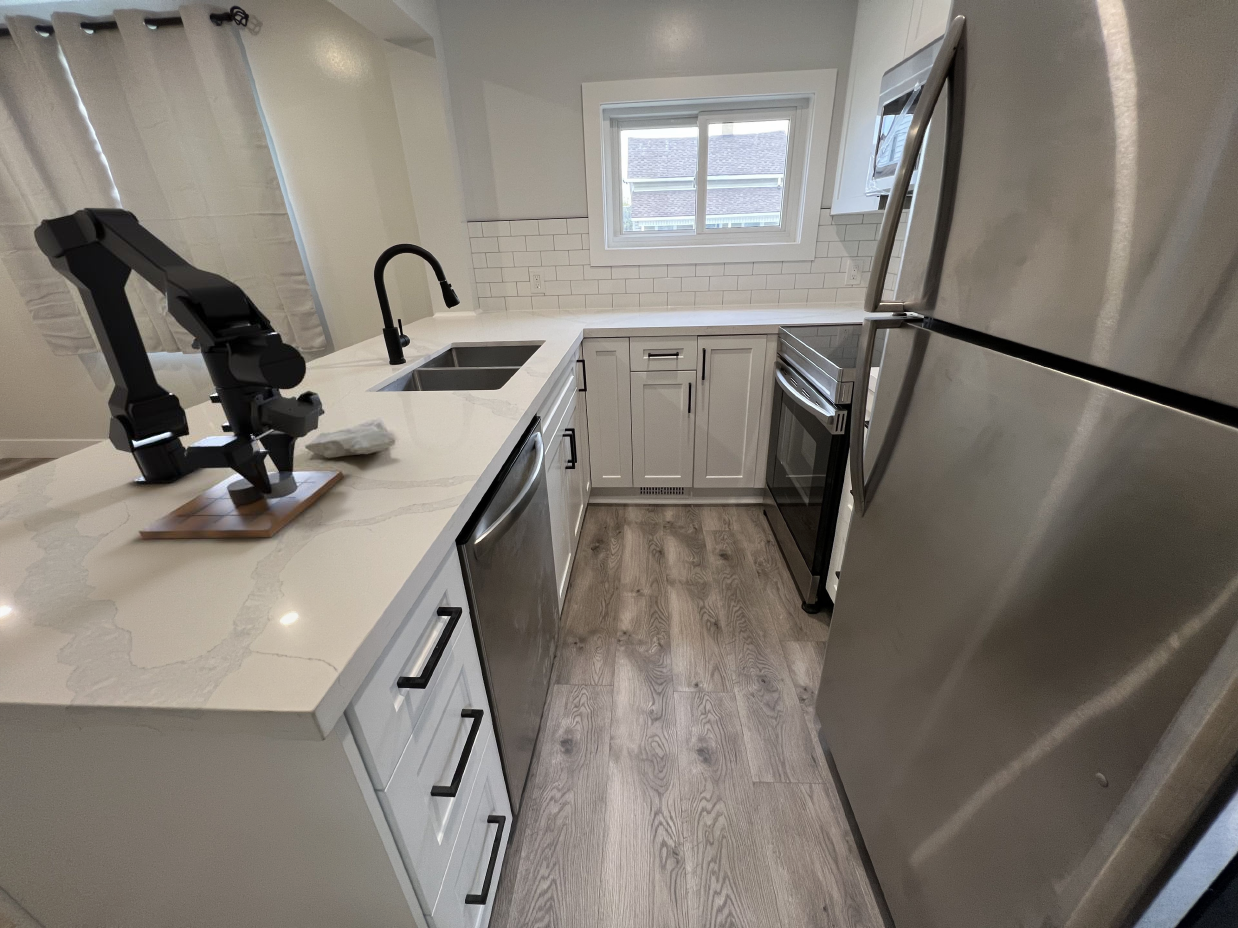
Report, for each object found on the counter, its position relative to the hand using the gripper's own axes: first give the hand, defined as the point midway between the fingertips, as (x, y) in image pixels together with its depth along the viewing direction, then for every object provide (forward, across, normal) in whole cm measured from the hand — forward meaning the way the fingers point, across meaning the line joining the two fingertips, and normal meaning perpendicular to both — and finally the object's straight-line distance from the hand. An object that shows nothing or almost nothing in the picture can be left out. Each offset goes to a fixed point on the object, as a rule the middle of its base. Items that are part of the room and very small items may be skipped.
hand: (278, 486), depth 73 cm
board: (+3, 0, +5) cm, 6 cm away
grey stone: (+1, 0, 0) cm, 1 cm away
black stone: (+2, 0, +5) cm, 5 cm away
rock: (+3, +20, 0) cm, 20 cm away
